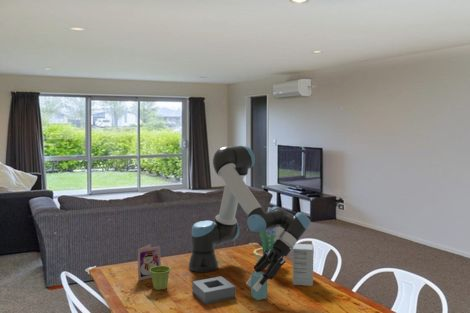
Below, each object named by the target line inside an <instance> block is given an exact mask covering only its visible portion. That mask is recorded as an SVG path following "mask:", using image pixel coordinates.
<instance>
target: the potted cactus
mask: <svg viewBox="0 0 470 313" xmlns="http://www.w3.org/2000/svg"><path fill="white" fill-rule="evenodd" d="M276 236H277V227H276V228H272V229H267V230H264V231H260V232H258V237H259V238H260V242H261V247H260V248H256V249H254V250H253V252H252V253H253V256H254V257H255V259H256V263H257V262H258V261H259V260H260V258H261V257H262V256H263V254H264V252H265V251H266V250H267V251H271V250H272V249H273V244H274V243H275V241H276V240H275V239H276ZM268 266H269V265H268ZM268 266H267V267H266V268H265V269H264V270H265V271H266V270H267V268H268Z"/></svg>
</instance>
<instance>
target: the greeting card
mask: <svg viewBox="0 0 470 313" xmlns="http://www.w3.org/2000/svg"><path fill="white" fill-rule="evenodd" d="M161 261H162V260H161V245H156V246H152V243H149V244H147V245H145V246H143V247H140V248H138V249H137V274H138V278H137V279H138V280H139V281H143V280H149V279H152V275H151V272H150V268H152V267H155V266H162V264H161V263H162V262H161Z"/></svg>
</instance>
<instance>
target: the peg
mask: <svg viewBox="0 0 470 313" xmlns="http://www.w3.org/2000/svg"><path fill="white" fill-rule="evenodd" d="M263 274H265V272H263V271H260V272H255V273H254V272H251V274H250V277H251V287H250V294H251V295H250V296H251V298H253V299H254V300H255V301H260V300H265V299H268V280H266V282H265V283H264V285H262V286H261V288H260V289H259V290H258V292H256V291H255V290H254V289H253V286H254V285H255V284H256V282H257V281H258V280H259V278H260V277H261V276H263Z"/></svg>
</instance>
